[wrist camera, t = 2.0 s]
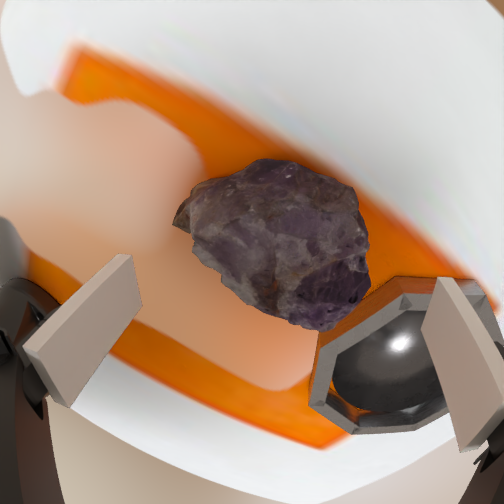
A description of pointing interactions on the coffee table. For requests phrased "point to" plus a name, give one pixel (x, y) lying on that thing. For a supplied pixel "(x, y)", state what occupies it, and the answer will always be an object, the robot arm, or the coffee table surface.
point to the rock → (282, 240)
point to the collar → (386, 360)
